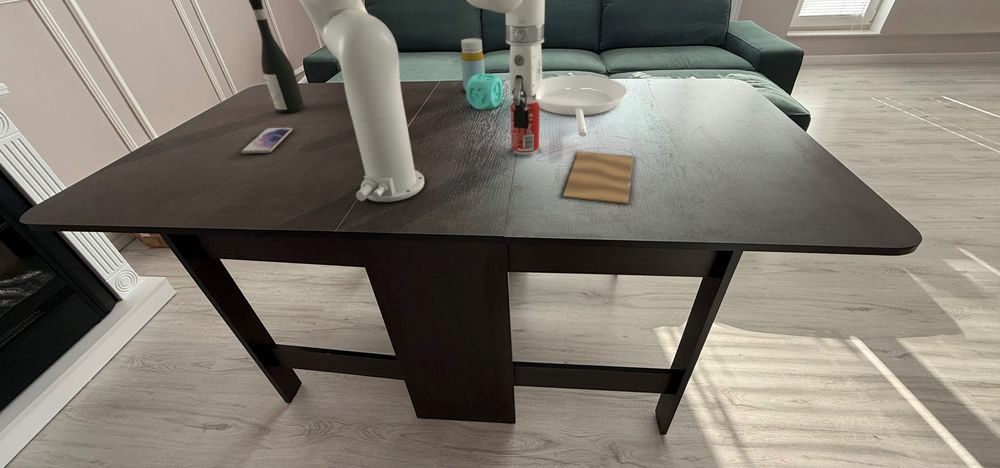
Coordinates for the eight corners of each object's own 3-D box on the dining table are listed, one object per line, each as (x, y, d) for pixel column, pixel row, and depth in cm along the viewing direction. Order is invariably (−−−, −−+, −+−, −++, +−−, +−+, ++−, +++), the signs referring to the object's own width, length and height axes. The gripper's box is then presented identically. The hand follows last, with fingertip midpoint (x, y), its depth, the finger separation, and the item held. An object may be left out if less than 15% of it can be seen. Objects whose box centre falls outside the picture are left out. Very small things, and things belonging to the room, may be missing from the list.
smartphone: (293, 127, 114) (269, 150, 101) (294, 130, 114) (270, 153, 102) (266, 127, 114) (239, 151, 101) (267, 130, 114) (241, 154, 102)
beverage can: (539, 145, 100) (540, 94, 93) (538, 156, 95) (539, 104, 88) (512, 145, 101) (511, 94, 94) (510, 156, 96) (509, 104, 89)
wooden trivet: (627, 204, 78) (628, 202, 78) (562, 196, 81) (562, 195, 81) (632, 157, 93) (632, 156, 93) (578, 152, 96) (578, 151, 96)
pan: (618, 87, 134) (620, 74, 132) (644, 145, 98) (646, 129, 96) (528, 88, 137) (528, 75, 134) (521, 145, 101) (521, 129, 99)
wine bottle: (281, 116, 123) (241, -1, 106) (273, 109, 128) (233, -3, 111) (308, 109, 127) (274, -4, 110) (300, 103, 132) (266, -6, 115)
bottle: (460, 89, 139) (456, 39, 130) (480, 85, 141) (477, 37, 132) (468, 95, 133) (464, 43, 125) (489, 91, 136) (486, 40, 127)
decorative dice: (480, 99, 129) (478, 72, 125) (503, 102, 126) (502, 74, 122) (467, 107, 124) (464, 79, 119) (491, 111, 121) (489, 82, 116)
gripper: (533, 44, 76) (532, 138, 86) (552, 25, 89) (549, 109, 100) (493, 43, 78) (497, 135, 88) (517, 25, 91) (518, 107, 102)
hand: (525, 120), depth 94 cm, fingers open, 6 cm apart
